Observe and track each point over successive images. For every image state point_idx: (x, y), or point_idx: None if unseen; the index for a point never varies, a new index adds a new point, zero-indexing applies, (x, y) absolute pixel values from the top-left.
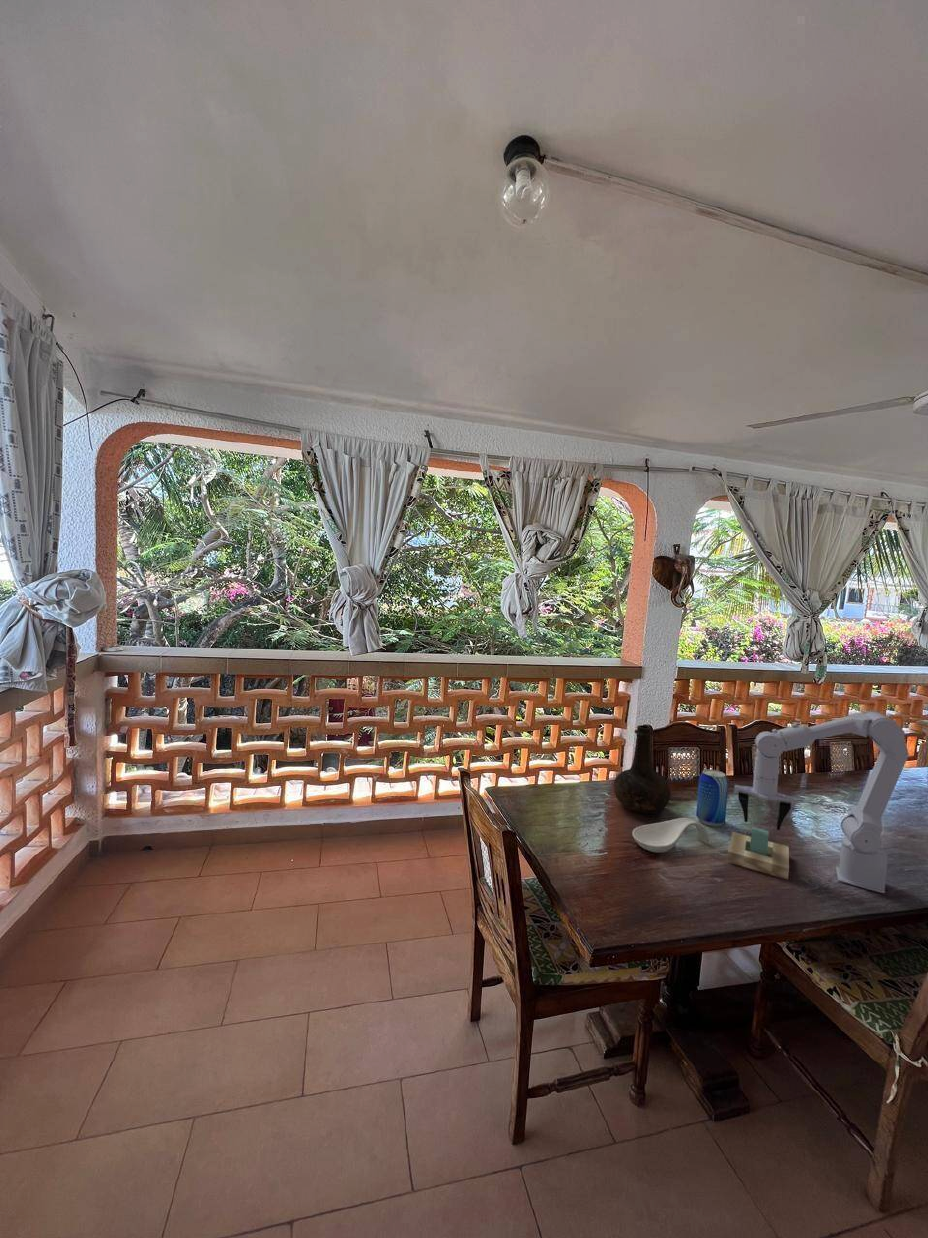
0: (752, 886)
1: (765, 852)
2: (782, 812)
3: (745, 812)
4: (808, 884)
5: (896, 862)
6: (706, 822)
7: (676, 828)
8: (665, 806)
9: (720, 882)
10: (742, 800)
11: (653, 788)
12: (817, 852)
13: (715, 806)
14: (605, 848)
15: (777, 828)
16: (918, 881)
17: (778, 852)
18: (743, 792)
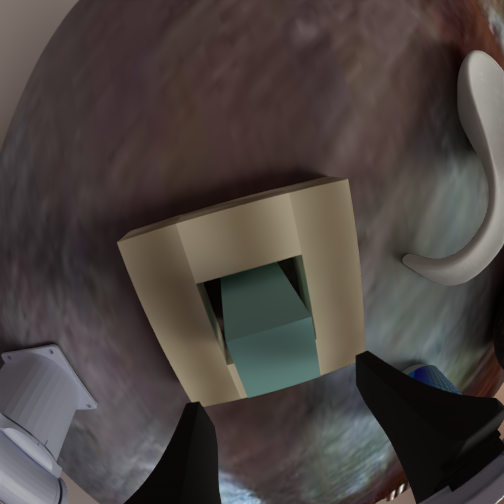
0: (204, 68)
1: (227, 295)
2: (155, 501)
3: (400, 382)
4: (83, 258)
5: (79, 470)
6: (418, 366)
7: (497, 174)
8: (500, 323)
9: (291, 19)
10: (483, 414)
11: None
12: (163, 444)
13: None
14: (500, 46)
15: (195, 407)
16: None
17: (197, 347)
18: (480, 478)
